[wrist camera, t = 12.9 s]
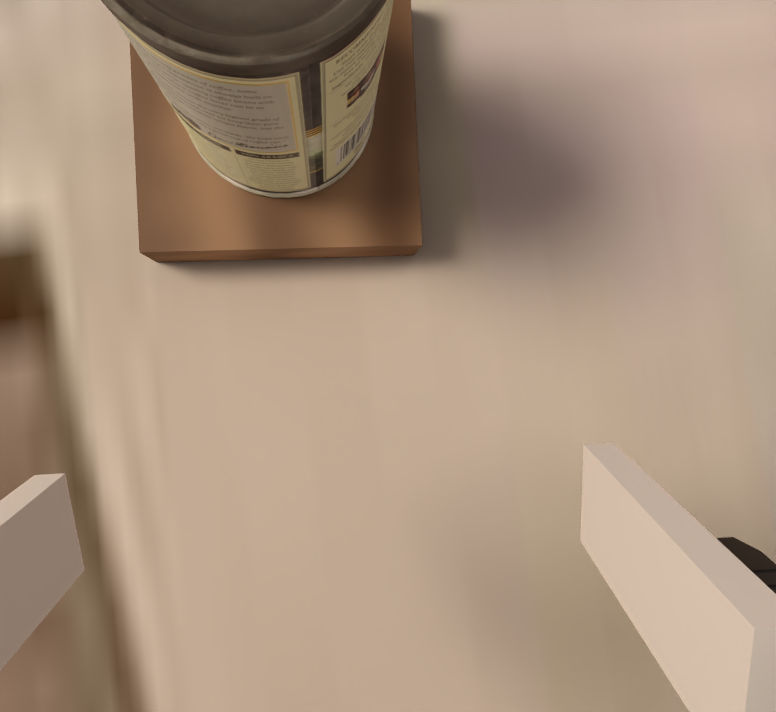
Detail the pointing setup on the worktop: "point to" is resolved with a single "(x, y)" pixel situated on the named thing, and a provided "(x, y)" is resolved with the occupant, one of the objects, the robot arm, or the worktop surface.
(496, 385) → the worktop surface
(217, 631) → the worktop surface
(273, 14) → the coffee can
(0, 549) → the robot arm
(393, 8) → the walnut board
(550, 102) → the worktop surface
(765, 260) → the worktop surface
